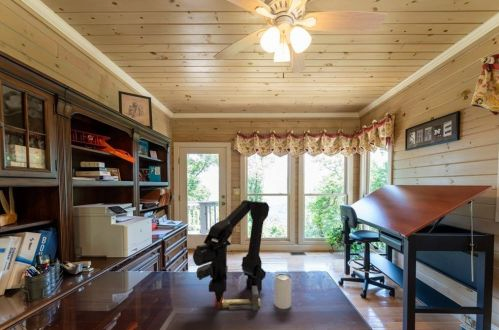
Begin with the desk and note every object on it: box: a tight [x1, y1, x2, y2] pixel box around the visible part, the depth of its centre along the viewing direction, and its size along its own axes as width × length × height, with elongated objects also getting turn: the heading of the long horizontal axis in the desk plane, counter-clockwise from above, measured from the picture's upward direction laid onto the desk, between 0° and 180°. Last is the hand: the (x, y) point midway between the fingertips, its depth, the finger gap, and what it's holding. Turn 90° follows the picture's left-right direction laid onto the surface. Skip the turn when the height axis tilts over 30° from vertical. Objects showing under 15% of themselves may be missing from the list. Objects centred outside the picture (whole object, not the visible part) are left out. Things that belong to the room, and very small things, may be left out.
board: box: [228, 286, 259, 312], centre depth 96 cm, size 27×11×7 cm, turn 93°
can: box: [273, 273, 292, 310], centre depth 98 cm, size 6×6×12 cm
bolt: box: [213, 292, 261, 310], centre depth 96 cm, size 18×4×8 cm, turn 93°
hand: (218, 299), depth 96 cm, fingers closed on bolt, 4 cm apart
